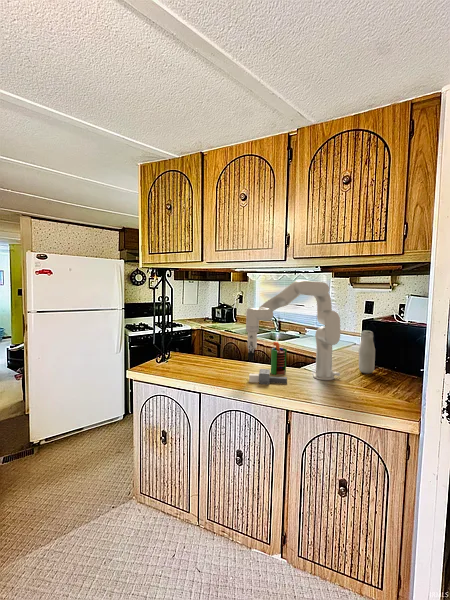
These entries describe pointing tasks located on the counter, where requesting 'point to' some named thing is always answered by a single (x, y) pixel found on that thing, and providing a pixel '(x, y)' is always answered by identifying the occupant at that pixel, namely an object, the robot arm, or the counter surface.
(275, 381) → the plug
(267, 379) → the housing
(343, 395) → the counter surface
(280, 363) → the motor
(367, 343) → the light grey bottle
